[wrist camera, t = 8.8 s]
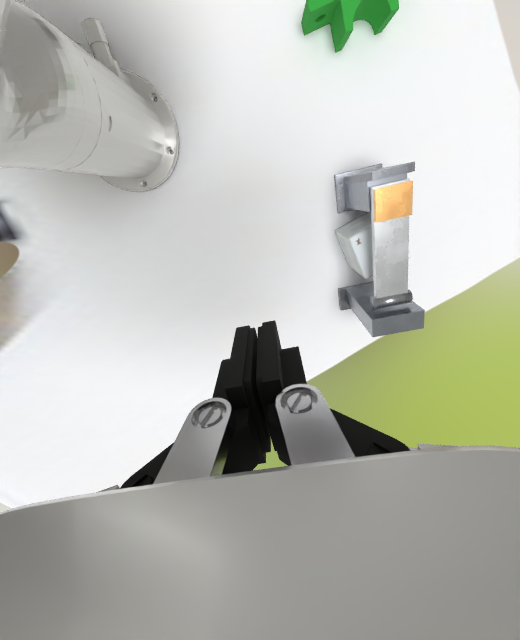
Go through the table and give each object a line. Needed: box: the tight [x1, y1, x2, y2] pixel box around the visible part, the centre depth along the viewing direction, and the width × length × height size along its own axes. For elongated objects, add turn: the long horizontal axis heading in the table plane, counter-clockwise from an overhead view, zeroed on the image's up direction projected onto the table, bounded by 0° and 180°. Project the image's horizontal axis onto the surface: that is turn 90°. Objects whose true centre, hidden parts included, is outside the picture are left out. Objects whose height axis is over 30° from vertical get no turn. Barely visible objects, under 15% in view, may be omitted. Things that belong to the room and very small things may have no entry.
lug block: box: [334, 162, 415, 213], centre depth 32 cm, size 5×6×11 cm
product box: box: [335, 212, 410, 279], centre depth 36 cm, size 6×6×7 cm
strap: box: [370, 179, 413, 309], centre depth 30 cm, size 14×4×2 cm, turn 12°
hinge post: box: [338, 282, 425, 337], centre depth 38 cm, size 4×8×12 cm, turn 102°
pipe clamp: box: [301, 0, 399, 53], centre depth 28 cm, size 11×4×5 cm, turn 109°
